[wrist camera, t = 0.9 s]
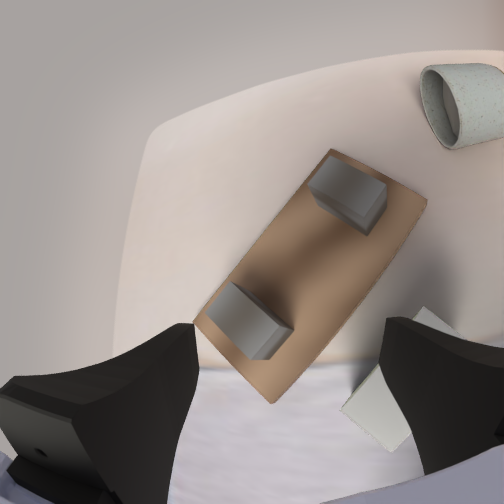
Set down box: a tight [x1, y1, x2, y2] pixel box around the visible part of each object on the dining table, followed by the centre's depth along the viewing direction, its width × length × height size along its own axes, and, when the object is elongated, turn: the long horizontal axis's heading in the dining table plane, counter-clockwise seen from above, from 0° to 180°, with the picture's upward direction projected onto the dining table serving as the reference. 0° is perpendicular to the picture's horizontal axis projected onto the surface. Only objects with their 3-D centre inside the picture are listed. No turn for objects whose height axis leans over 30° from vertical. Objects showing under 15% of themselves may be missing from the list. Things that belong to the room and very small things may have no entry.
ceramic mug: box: [420, 63, 504, 149], centre depth 19 cm, size 11×8×8 cm
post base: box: [193, 149, 427, 404], centre depth 22 cm, size 10×20×4 cm, turn 137°
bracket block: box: [339, 306, 468, 453], centre depth 15 cm, size 4×7×7 cm, turn 137°
